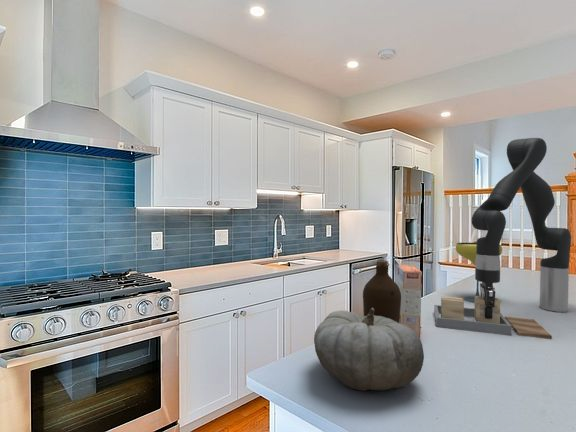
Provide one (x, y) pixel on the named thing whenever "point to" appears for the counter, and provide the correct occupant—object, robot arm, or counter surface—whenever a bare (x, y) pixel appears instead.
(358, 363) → the gourd
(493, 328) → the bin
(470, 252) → the cocktail glass
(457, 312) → the plain box
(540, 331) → the board
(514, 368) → the counter surface
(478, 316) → the tan box
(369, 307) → the olive oil
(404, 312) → the cracker box
